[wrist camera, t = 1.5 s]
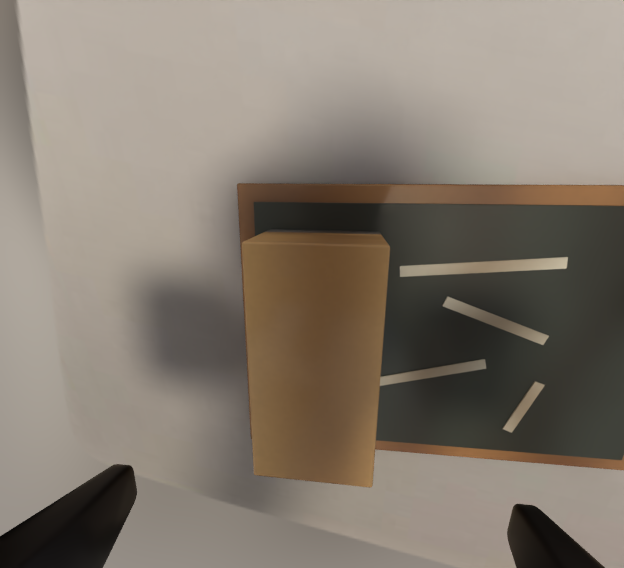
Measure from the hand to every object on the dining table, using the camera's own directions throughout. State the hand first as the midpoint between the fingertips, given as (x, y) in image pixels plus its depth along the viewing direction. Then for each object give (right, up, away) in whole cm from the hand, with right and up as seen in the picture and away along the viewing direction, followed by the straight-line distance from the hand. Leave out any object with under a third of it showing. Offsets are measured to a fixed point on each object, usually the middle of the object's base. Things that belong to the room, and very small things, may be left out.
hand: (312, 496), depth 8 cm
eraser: (0, +3, +8) cm, 9 cm away
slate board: (+7, +3, +9) cm, 11 cm away
